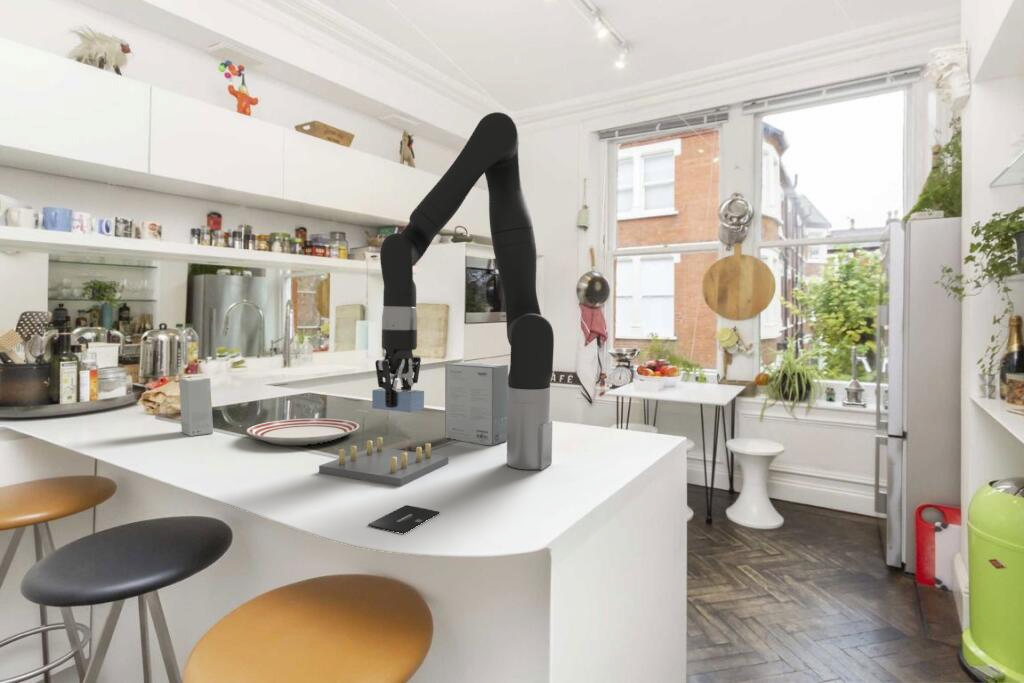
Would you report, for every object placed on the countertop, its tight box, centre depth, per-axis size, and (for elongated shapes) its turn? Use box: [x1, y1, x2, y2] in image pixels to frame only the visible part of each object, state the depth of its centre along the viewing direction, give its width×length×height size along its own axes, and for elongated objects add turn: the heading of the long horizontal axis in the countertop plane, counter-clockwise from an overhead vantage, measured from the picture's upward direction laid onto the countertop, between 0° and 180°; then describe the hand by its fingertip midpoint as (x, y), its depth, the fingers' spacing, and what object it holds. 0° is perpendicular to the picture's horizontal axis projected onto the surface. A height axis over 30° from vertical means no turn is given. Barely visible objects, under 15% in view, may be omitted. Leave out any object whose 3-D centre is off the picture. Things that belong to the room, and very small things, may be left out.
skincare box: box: [178, 376, 214, 437], centre depth 148 cm, size 8×6×15 cm
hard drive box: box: [444, 362, 509, 446], centre depth 145 cm, size 16×8×20 cm, turn 58°
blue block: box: [371, 387, 425, 413], centre depth 121 cm, size 10×5×4 cm, turn 66°
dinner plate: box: [246, 418, 360, 446], centre depth 145 cm, size 27×27×3 cm
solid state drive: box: [367, 504, 441, 535], centre depth 89 cm, size 7×10×1 cm
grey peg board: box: [318, 437, 449, 487], centre depth 118 cm, size 20×18×4 cm
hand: (398, 405), depth 121 cm, fingers closed on blue block, 5 cm apart
